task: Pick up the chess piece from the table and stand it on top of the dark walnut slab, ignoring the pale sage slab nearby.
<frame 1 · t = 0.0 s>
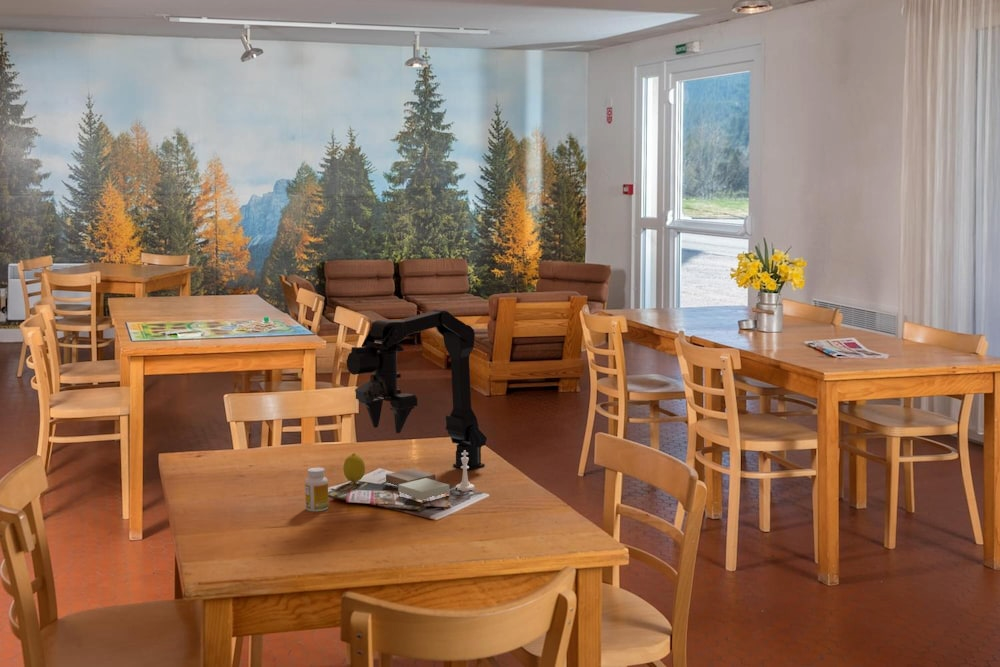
hand: (386, 430, 283), 15 cm above the table, tool pointing down, fingers open, 9 cm apart
walnut slab: (410, 485, 285), on the table
lemon: (354, 484, 287), on the table
sage slab: (424, 496, 275), on the table
chess piece: (465, 489, 282), on the table
supplement bottle: (317, 509, 265), on the table
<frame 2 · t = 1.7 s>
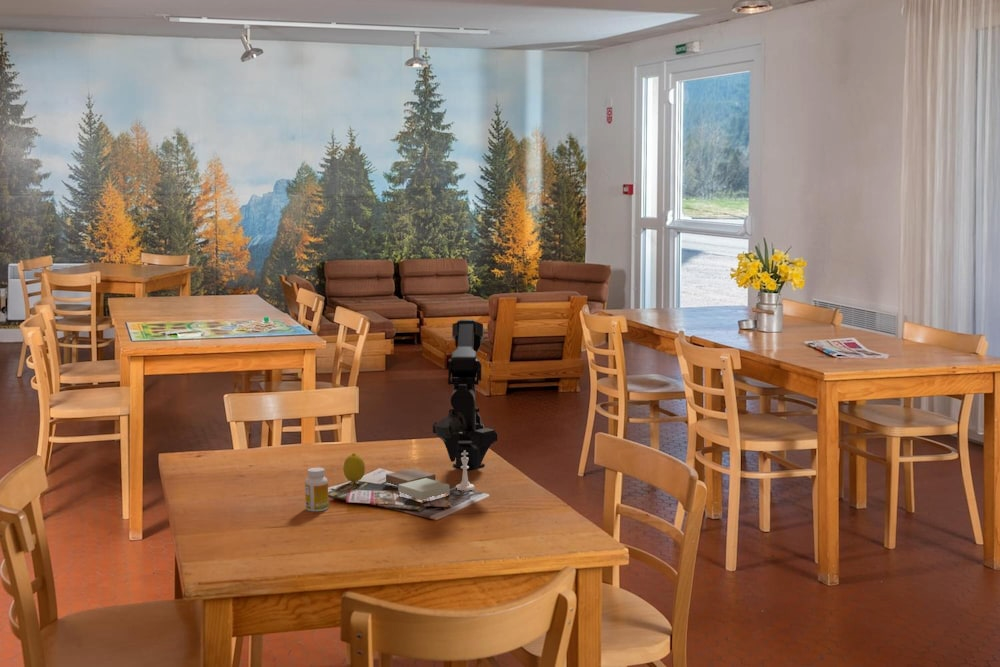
hand: (464, 464, 281), 6 cm above the table, tool pointing down, fingers open, 9 cm apart
nothing on the table moved.
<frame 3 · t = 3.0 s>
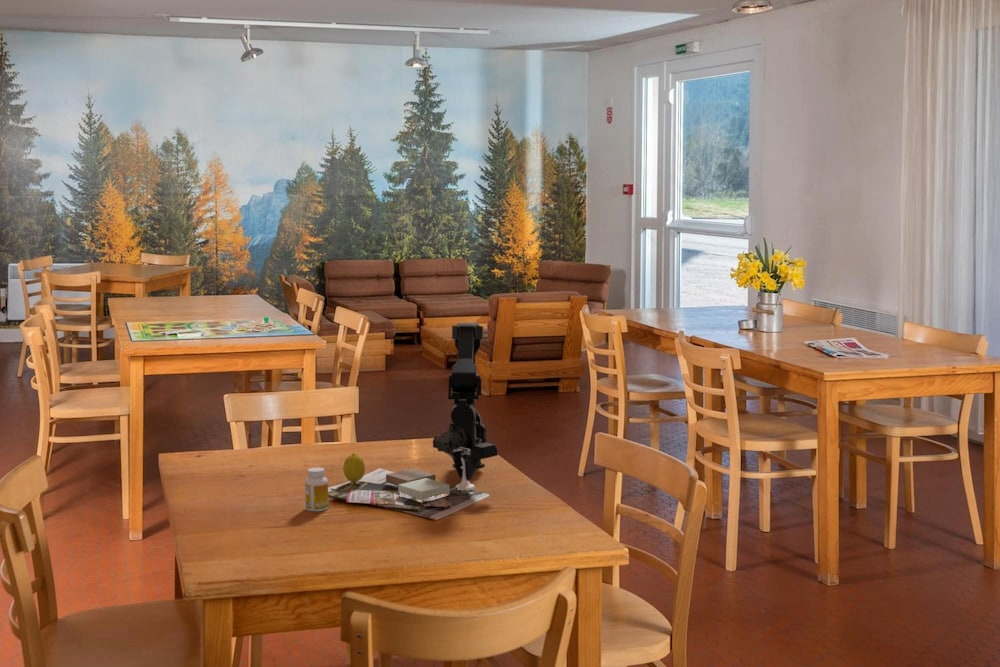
hand: (465, 479, 282), 3 cm above the table, tool pointing down, fingers closed on chess piece, 2 cm apart
chess piece: (465, 489, 282), on the table, touching gripper
everything else where it was.
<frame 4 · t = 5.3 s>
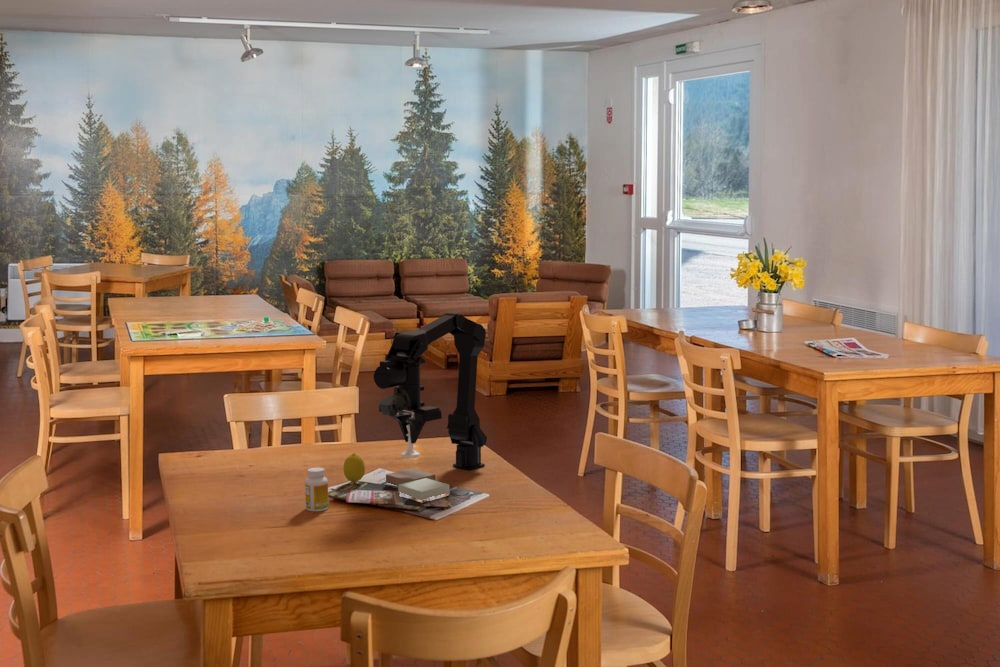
hand: (410, 442, 284), 11 cm above the table, tool pointing down, fingers closed on chess piece
chess piece: (410, 457, 284), point 8 cm above the table, touching gripper
everything else where it was.
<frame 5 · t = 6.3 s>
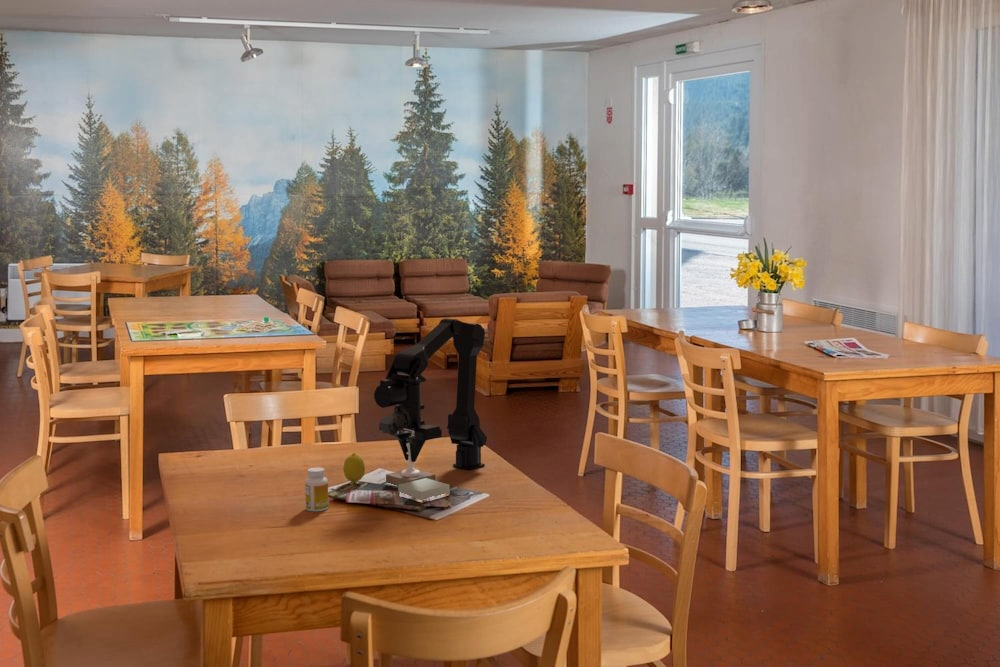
hand: (410, 461, 284), 7 cm above the table, tool pointing down, fingers closed on chess piece
chess piece: (410, 475, 285), point 3 cm above the table, touching gripper, walnut slab
everything else where it was.
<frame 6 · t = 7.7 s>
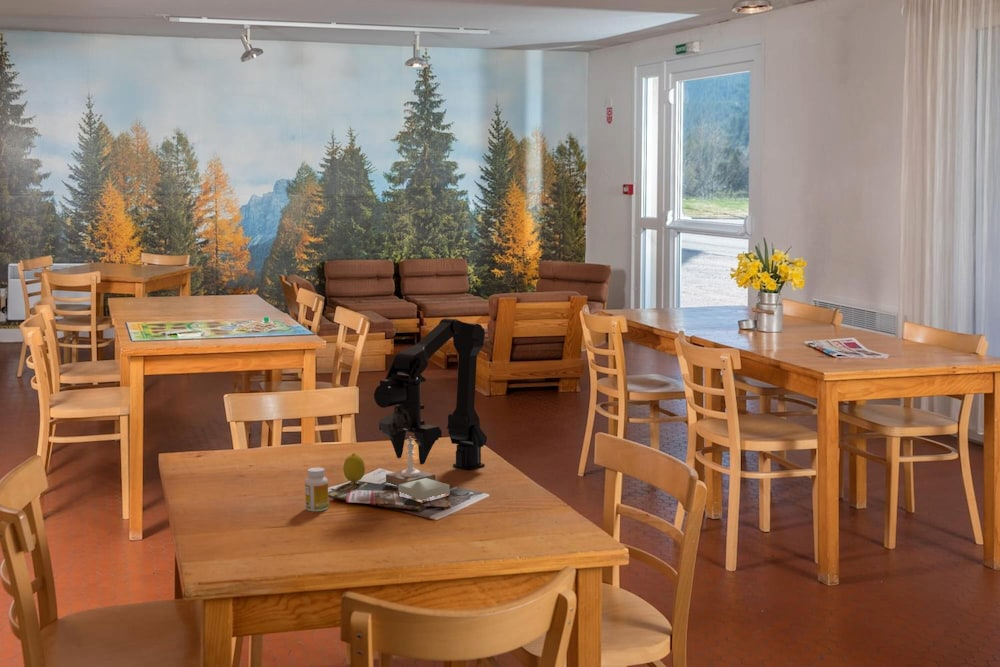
hand: (410, 461, 284), 7 cm above the table, tool pointing down, fingers open, 9 cm apart
chess piece: (410, 475, 285), point 3 cm above the table, touching walnut slab
everything else where it was.
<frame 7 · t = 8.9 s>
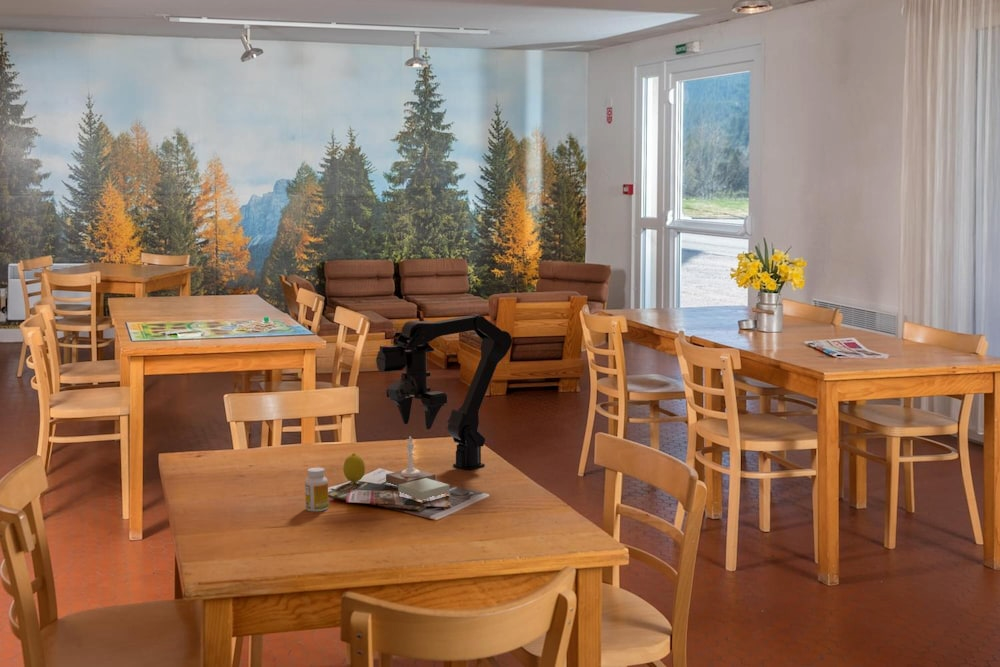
hand: (417, 426, 295), 13 cm above the table, tool pointing down, fingers open, 9 cm apart
nothing on the table moved.
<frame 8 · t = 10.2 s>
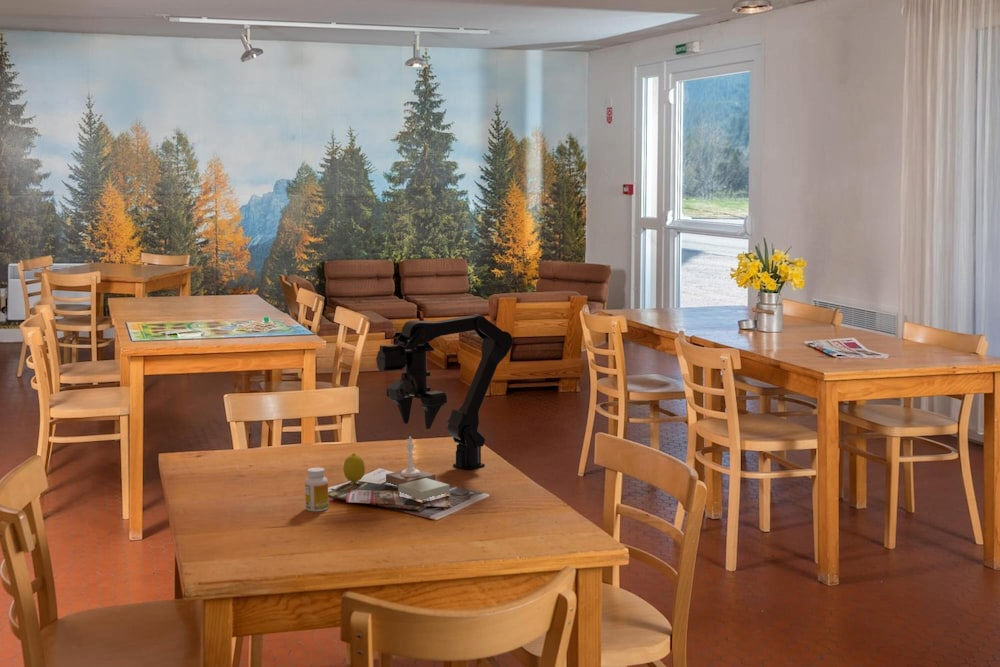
hand: (416, 426, 295), 13 cm above the table, tool pointing down, fingers open, 9 cm apart
nothing on the table moved.
at the end: chess piece inside the target area on the walnut slab (0.1 cm from its centre), point 2.8 cm above the walnut slab's base; chess piece tilted 0°; the gripper is holding nothing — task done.
